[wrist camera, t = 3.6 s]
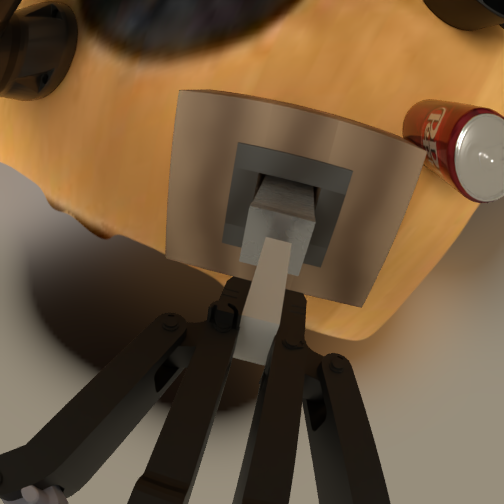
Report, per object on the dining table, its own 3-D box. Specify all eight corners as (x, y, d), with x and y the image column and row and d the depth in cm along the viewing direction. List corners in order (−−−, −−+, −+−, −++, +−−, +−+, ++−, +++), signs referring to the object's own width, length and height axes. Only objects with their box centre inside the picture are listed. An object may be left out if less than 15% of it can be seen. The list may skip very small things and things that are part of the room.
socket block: (192, 223, 36) (164, 259, 29) (209, 89, 27) (177, 90, 20) (353, 264, 34) (362, 309, 27) (399, 136, 26) (428, 152, 19)
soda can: (412, 173, 28) (460, 218, 17) (391, 108, 25) (438, 120, 15) (465, 155, 25) (527, 192, 15) (447, 92, 22) (513, 100, 12)
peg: (257, 215, 27) (238, 261, 20) (266, 172, 25) (249, 205, 18) (301, 226, 26) (298, 276, 20) (313, 184, 24) (315, 222, 18)
